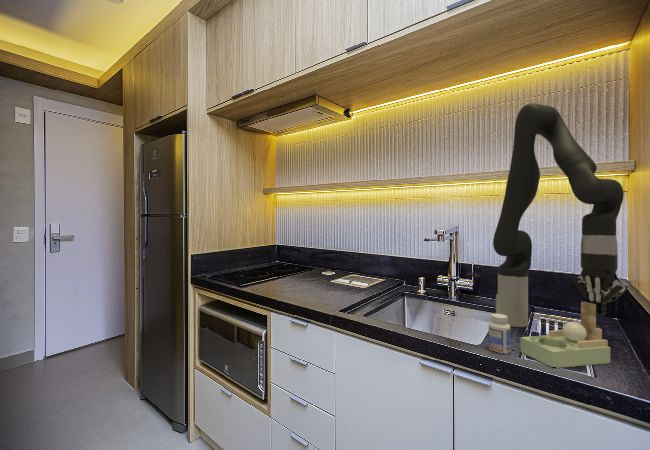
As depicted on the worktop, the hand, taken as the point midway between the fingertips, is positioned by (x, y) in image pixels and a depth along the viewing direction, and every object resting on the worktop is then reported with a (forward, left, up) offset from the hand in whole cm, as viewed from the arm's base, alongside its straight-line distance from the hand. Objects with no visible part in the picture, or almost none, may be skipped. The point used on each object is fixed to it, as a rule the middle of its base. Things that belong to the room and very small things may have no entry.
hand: (598, 315), depth 84 cm
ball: (0, -8, -4) cm, 9 cm away
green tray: (0, -11, -10) cm, 15 cm away
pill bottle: (-7, -25, -11) cm, 28 cm away
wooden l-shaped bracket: (0, -3, -6) cm, 7 cm away
